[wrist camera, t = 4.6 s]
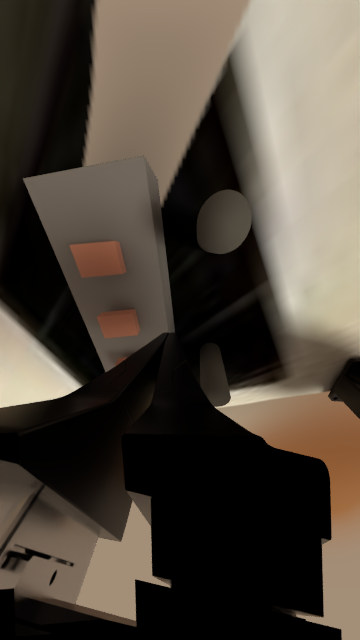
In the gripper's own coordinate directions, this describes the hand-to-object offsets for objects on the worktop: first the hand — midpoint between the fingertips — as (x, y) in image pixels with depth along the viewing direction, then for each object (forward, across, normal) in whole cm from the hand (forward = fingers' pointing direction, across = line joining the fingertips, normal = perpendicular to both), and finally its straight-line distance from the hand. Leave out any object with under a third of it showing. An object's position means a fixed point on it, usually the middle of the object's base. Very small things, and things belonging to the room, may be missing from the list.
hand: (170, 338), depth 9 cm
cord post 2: (+6, -3, +6) cm, 9 cm away
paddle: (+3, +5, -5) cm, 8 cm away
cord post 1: (+6, -3, -6) cm, 9 cm away
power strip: (+6, +5, 0) cm, 8 cm away
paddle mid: (+3, +5, 0) cm, 6 cm away
